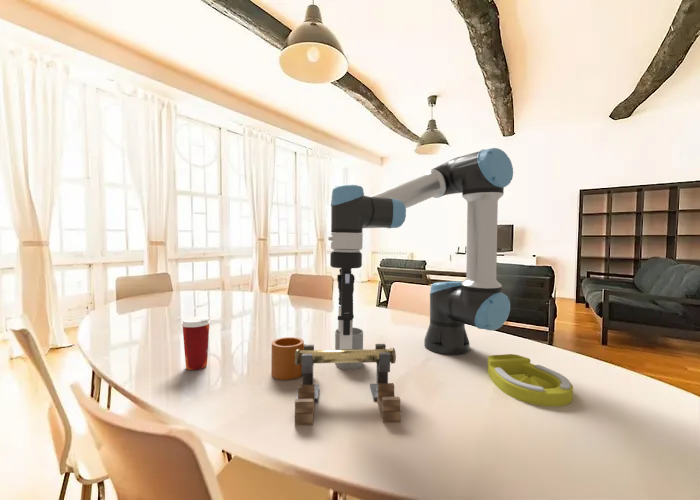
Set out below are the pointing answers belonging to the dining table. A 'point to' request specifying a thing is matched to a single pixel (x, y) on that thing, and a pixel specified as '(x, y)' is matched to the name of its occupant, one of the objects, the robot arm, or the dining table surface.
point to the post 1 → (308, 370)
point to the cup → (356, 345)
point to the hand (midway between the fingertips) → (344, 339)
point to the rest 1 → (305, 405)
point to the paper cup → (196, 341)
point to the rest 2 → (388, 403)
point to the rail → (344, 355)
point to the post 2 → (381, 370)
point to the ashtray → (529, 381)
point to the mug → (286, 358)
